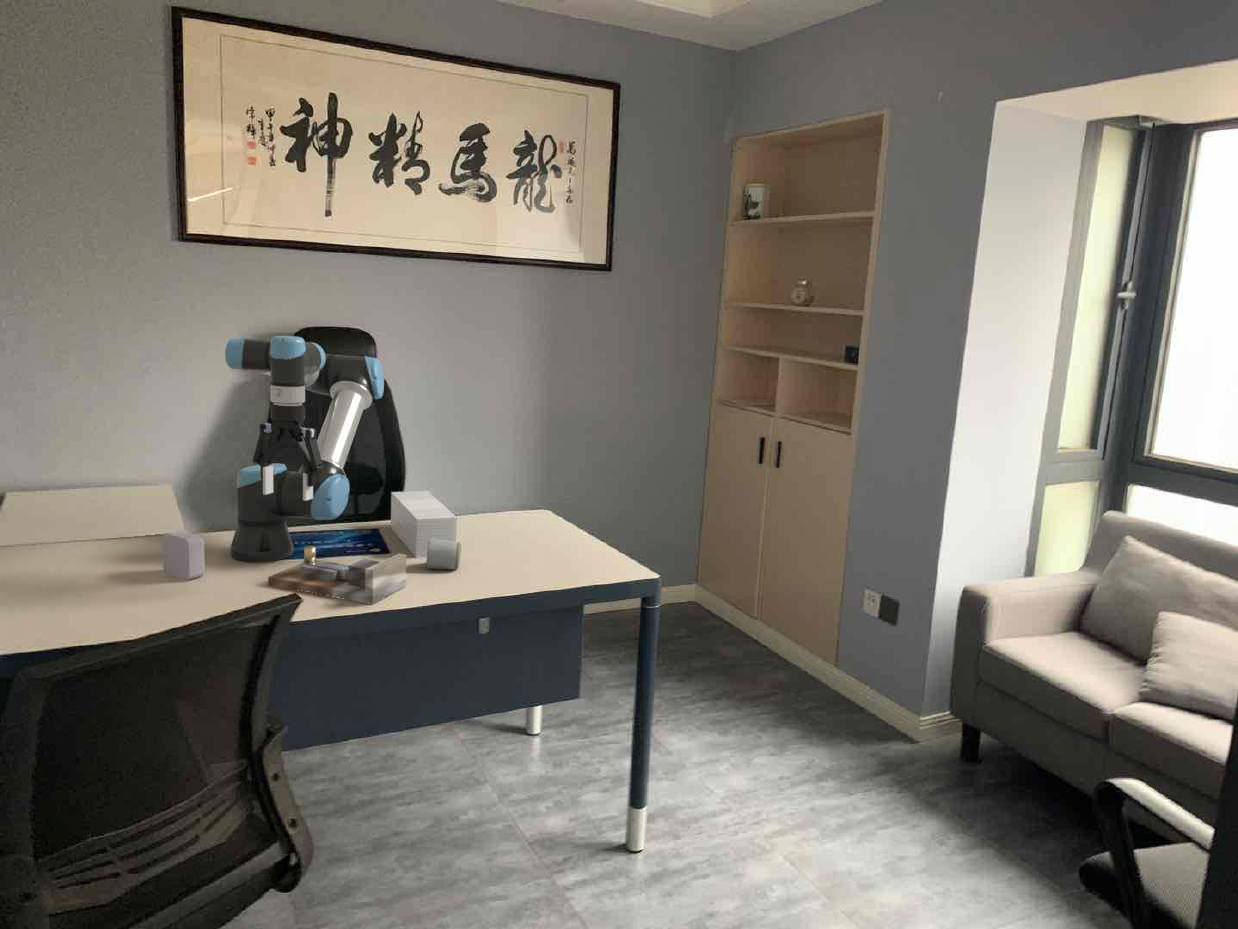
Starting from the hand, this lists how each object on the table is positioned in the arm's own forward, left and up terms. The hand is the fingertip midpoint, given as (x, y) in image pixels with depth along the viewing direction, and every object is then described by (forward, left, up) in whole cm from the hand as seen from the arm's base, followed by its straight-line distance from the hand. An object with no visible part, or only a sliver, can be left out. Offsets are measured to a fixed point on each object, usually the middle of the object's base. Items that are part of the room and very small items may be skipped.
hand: (287, 496), depth 215 cm
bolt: (+11, 0, -18) cm, 21 cm away
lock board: (+14, 0, -20) cm, 24 cm away
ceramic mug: (+28, +25, -20) cm, 43 cm away
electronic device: (-21, -10, -20) cm, 31 cm away
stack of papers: (+11, +44, -20) cm, 50 cm away
